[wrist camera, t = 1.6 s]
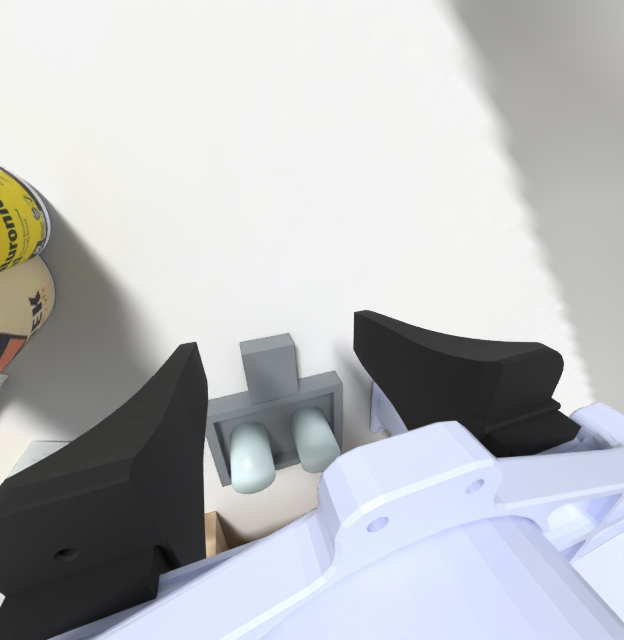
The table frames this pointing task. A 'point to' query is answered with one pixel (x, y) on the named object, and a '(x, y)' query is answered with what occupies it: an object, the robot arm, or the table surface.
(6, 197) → the supplement bottle
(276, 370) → the tray
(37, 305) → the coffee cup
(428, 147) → the table surface
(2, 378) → the external hard drive
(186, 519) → the robot arm
